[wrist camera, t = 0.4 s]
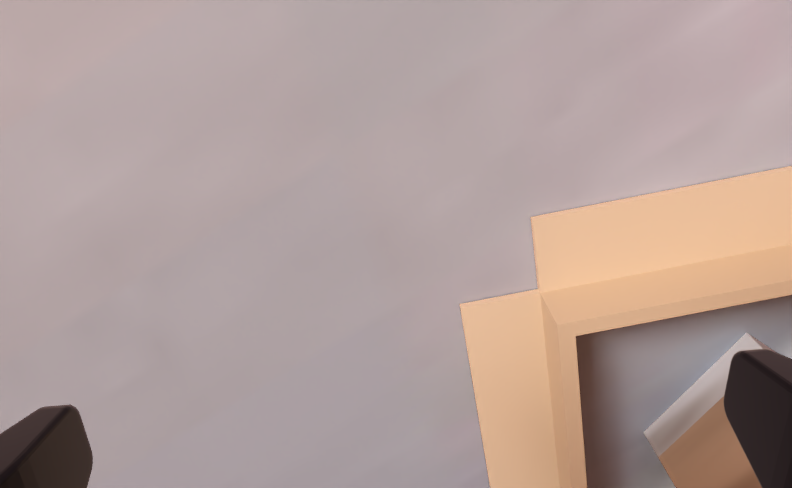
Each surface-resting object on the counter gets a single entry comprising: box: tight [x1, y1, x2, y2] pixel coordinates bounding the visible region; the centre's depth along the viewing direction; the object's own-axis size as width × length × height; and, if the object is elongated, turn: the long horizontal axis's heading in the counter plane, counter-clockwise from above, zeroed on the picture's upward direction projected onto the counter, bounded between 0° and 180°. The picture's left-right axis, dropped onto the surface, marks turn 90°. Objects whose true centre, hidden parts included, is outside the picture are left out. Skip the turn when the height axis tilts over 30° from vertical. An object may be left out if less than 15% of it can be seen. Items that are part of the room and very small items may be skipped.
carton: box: [460, 166, 792, 488], centre depth 26 cm, size 18×21×2 cm
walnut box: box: [643, 333, 775, 488], centre depth 24 cm, size 4×6×8 cm
